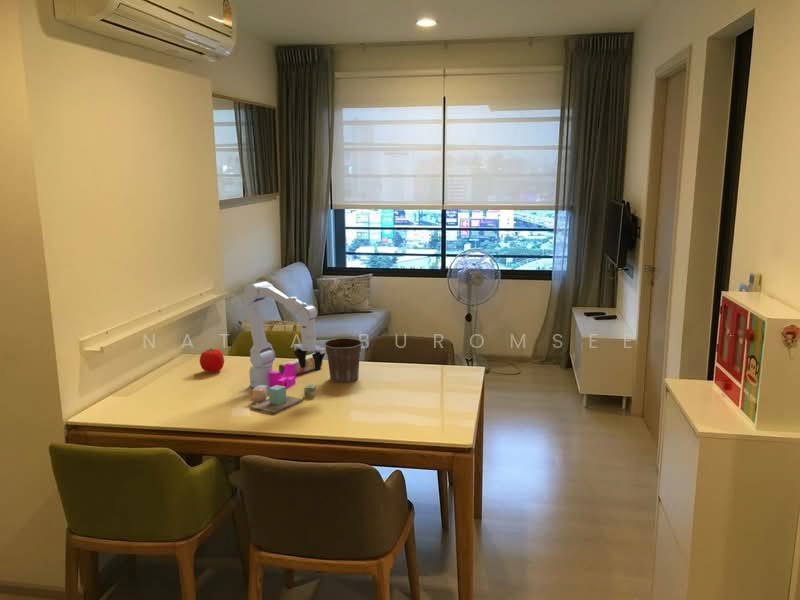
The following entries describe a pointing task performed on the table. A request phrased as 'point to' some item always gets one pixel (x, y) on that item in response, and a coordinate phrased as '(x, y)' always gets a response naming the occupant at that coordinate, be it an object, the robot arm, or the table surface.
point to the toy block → (283, 376)
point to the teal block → (277, 394)
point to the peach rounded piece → (259, 394)
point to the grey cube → (264, 387)
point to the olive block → (310, 390)
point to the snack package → (309, 365)
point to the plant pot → (343, 358)
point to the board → (274, 408)
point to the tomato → (212, 360)
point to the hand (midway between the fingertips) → (310, 368)
